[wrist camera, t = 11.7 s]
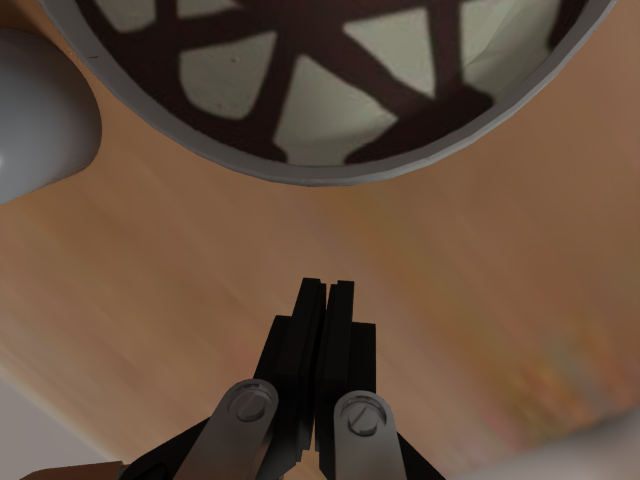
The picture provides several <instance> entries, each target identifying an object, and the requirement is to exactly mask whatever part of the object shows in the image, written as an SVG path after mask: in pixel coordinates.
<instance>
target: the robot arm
mask: <svg viewBox="0 0 640 480" xmlns="http://www.w3.org/2000/svg"><path fill="white" fill-rule="evenodd" d="M353 298H354V281H342V280H338V283H337V285H336V284H331V287H330V293H329V298H328V304H327V310H326V284H324V283H321V281H320V279H316V278H303V281H302V284H301V287H300V291H299V294H298V297H297V300H296V304H295V307H294V310H293V314H292V316H281V315H277V316H275V319H274V321H273V324H272V327H271V329H270V332H269V335H268V338H267V340H266V343H265V346H264V349H263V351H262V354H261V357H260V360H259V363H258V365H257V368H256V371H255V374H254V376H253V379H248V380H244V381H241V382H239V383H236V384H235V385H234V386H232V387H231V388H230V389H229V390H228V391H227V392H226V393H225V395H224V396H223V398H222V399H221V401H220V403H219V404H218V406H217V408H216V409H215V411H214V412H213V414H212V416H211V417H209V418H207V419H205V420H204V421H202V422H200V423H198V424H197V425H195V426H193V427H191V428H190V429H188V430H186V431H184V432H183V433H181V434H179V435H177V436H176V437H174V438H172V439H170V440H169V441H167V442H165V443H163V444H162V445H160V446H158V447H157V448H155V449H153V450H151V451H150V452H148V453H146V454H144V455H143V456H141V457H140V458H138V459H137V460H135V461H134V462H133V463H131V464H127V465H124V464H123V462H122V461H115V462H105V463H96V464H87V465H78V466H68V467H59V468H49V469H43V470H39V471H35V472H32V473H30V474H29V475H27V476H25V477H23V478H21V479H20V480H283V478H284V474H285V473H286V472H287V471H289V470H290V469H291V468H293V467H294V466H295V465H296V462H301V456H302V450H309V449H310V445H311V438H312V432H313V426H314V419H315V451H317V452H319V469H320V470H321V472H322V473H323V474H324V476H325V477H326V478H327V480H446V479H445V478H444V477H443V476H442V475H441V474H440V473H439V472H438V471H437V470H436V469H435V468H434V467H433V466H432V465H431V464H430V463H429V462H428V461H427V460H426V459H424V458H423V457H422V456H421V455H420V454H419V453H418V452H417V451H416V450H415V449H414V448H413V447H412V446H411V445H410V444H409V443H408V442H407V441H406V440H405V439H404V438H403V437H402V436H401V435H400V434H399V433H398V432H397V431H396V427H395V422H394V418H393V414H392V411H391V409H390V406H389V405H388V404H387V403H386V401H385V400H384V399H382V398H381V397H380V396H378V395H377V394H376V325H375V324H371V323H360V322H352V315H353Z"/></svg>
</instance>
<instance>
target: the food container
mask: <svg viewBox="0 0 640 480" xmlns="http://www.w3.org/2000/svg"><path fill="white" fill-rule="evenodd" d="M38 1H39V3H40V4H41V6H42V8H43V9H44V11H45V13H46V14H47V16H48V17H49V19H50V20H51V21H52V23H53V24H54V25H55V27H56V28H57V29H58V31H59V32H60V33H61V35H62V36H63V37H64V39H65V40H66V41H67V43H68V44H69V45H70V47H71V48H72V49H73V51H74V52H75V53H76V55H77V56H78V57H79V58H80V60H81V61H82V62H83V63H84V64H85V65H86V66H87V67H88V68H89V69H90V70H91V72H92V73H93V74H94V75H95V76H96V77H97V78H98V79H99V80H100V81H101V82H102V83H103V84H104V85H105V86H106V87H107V88H108V89H109V90H110V91H111V93H112V94H113V95H114V96H115V97H116V98H118V99H119V100H120V101H121V102H122V103H124V104H125V105H126V106H127V107H128V108H130V109H131V110H132V111H133V112H135V113H136V114H137V115H138V116H139V117H141V118H142V119H143V120H144V121H145V122H147V123H148V124H149V125H150V126H152V127H153V128H155V129H156V130H158V131H159V132H161V133H163V134H164V135H166V136H167V137H169V138H171V139H172V140H174V141H175V142H177V143H179V144H180V145H182V146H183V147H185V148H187V149H188V150H190V151H192V152H194V153H195V154H197V155H199V156H201V157H203V158H206V159H208V160H210V161H212V162H215V163H217V164H219V165H221V166H223V167H226V168H228V169H230V170H232V171H235V172H239V173H242V174H246V175H249V176H253V177H256V178H259V179H263V180H266V181H270V182H277V183H284V184H292V185H299V186H307V187H321V186H351V185H356V184H362V183H368V182H373V181H379V180H385V179H389V178H392V177H395V176H398V175H401V174H404V173H407V172H410V171H413V170H416V169H419V168H422V167H425V166H428V165H430V164H432V163H434V162H436V161H438V160H440V159H442V158H444V157H446V156H448V155H450V154H452V153H455V152H457V151H459V150H461V149H463V148H465V147H467V146H469V145H470V144H472V143H473V142H475V141H476V140H478V139H479V138H480V137H482V136H483V135H485V134H486V133H488V132H489V131H491V130H492V129H494V128H495V127H497V126H498V125H500V124H501V123H502V122H504V121H505V120H507V119H508V118H510V117H511V116H512V115H513V114H514V113H516V112H517V111H518V110H519V109H520V108H521V107H522V106H523V105H525V104H526V103H527V102H528V101H529V100H530V99H531V98H532V97H534V96H535V95H536V94H537V93H538V92H539V91H540V90H541V89H543V88H544V87H545V86H546V85H547V84H548V83H549V82H551V81H552V79H553V78H554V77H555V76H556V75H557V74H558V73H559V72H560V70H561V69H562V68H563V67H564V66H565V65H566V64H567V62H568V61H569V60H570V59H571V58H572V57H573V56H574V55H575V53H576V52H577V51H578V50H579V49H580V48H581V47H582V45H583V44H584V43H585V42H586V41H587V40H588V39H589V38H590V36H591V35H592V34H593V33H594V31H595V30H596V29H597V28H598V27H599V25H600V24H601V23H602V22H603V21H604V19H605V18H606V16H607V15H608V13H609V12H610V11H611V9H612V8H613V6H614V5H615V3H616V2H617V1H618V0H38Z"/></svg>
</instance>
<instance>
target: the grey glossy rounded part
mask: <svg viewBox="0 0 640 480" xmlns="http://www.w3.org/2000/svg"><path fill="white" fill-rule="evenodd" d="M101 137H102V124H101V116H100V111H99V108H98V104H97V101H96V99H95V96H94V94H93V92H92V90H91V88H90V86H89V84H88V82H87V80H86V79H85V78H84V76H83V75H82V73H81V72H80V70H79V69H78V68H77V67H76V65H75V64H74V63H73V62H72V61H71V60H70V59H69V58H68V57H67V56H66V55H65V54H64V53H63V52H62V51H61V50H59V49H58V48H57V47H56V46H54V45H53V44H51V43H50V42H48V41H47V40H45V39H43V38H41V37H39V36H37V35H35V34H32V33H30V32H27V31H23V30H19V29H12V28H0V205H1V204H3V203H5V202H8V201H10V200H13V199H15V198H18V197H20V196H23V195H25V194H28V193H30V192H33V191H35V190H38V189H40V188H43V187H45V186H47V185H50V184H52V183H55V182H57V181H60V180H62V179H65V178H67V177H70V176H72V175H75V174H77V173H79V172H81V171H83V170H84V169H85V168H86V167H88V166H89V165H90V164H91V162H92V161H93V160H94V158H95V156H96V155H97V153H98V150H99V147H100V143H101Z"/></svg>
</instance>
